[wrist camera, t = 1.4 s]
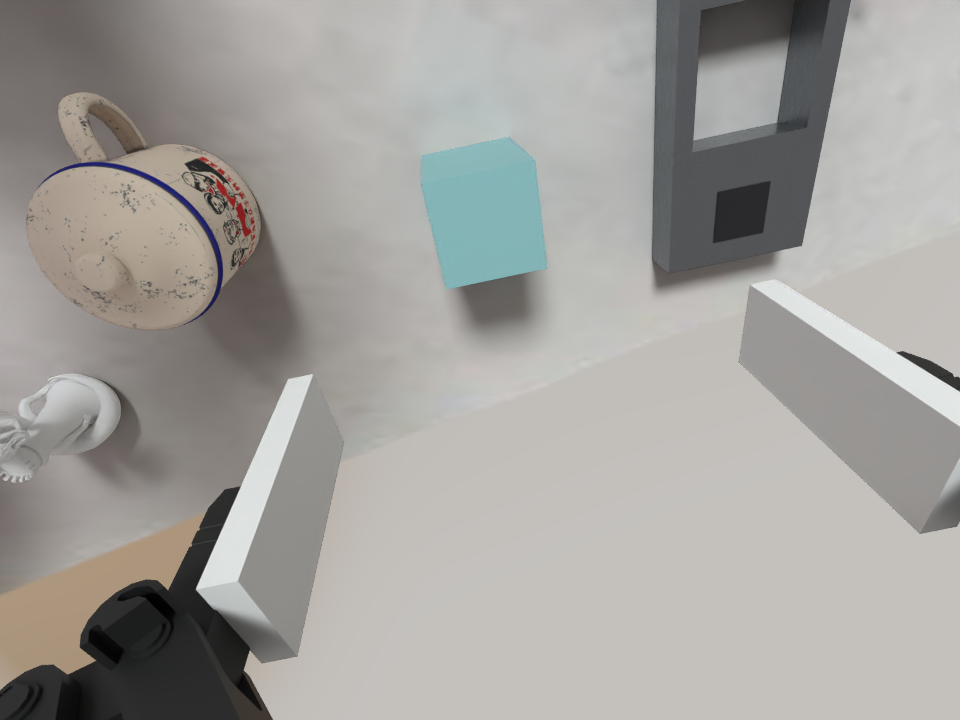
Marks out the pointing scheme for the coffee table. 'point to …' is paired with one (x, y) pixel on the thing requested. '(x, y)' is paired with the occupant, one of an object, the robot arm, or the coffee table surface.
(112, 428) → the figurine
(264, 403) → the coffee table surface
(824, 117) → the grey flat slotted block
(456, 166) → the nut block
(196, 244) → the teacup with lid
